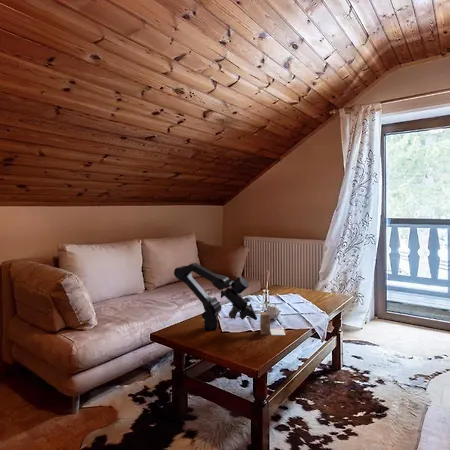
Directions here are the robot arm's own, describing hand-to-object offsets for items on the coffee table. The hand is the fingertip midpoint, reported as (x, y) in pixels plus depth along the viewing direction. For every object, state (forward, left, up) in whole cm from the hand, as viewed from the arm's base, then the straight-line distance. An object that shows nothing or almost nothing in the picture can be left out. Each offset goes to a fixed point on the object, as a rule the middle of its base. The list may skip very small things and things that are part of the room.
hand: (256, 319), depth 178 cm
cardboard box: (+4, 0, -7) cm, 8 cm away
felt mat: (+11, 0, -7) cm, 13 cm away
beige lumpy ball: (+10, +19, -7) cm, 23 cm away
